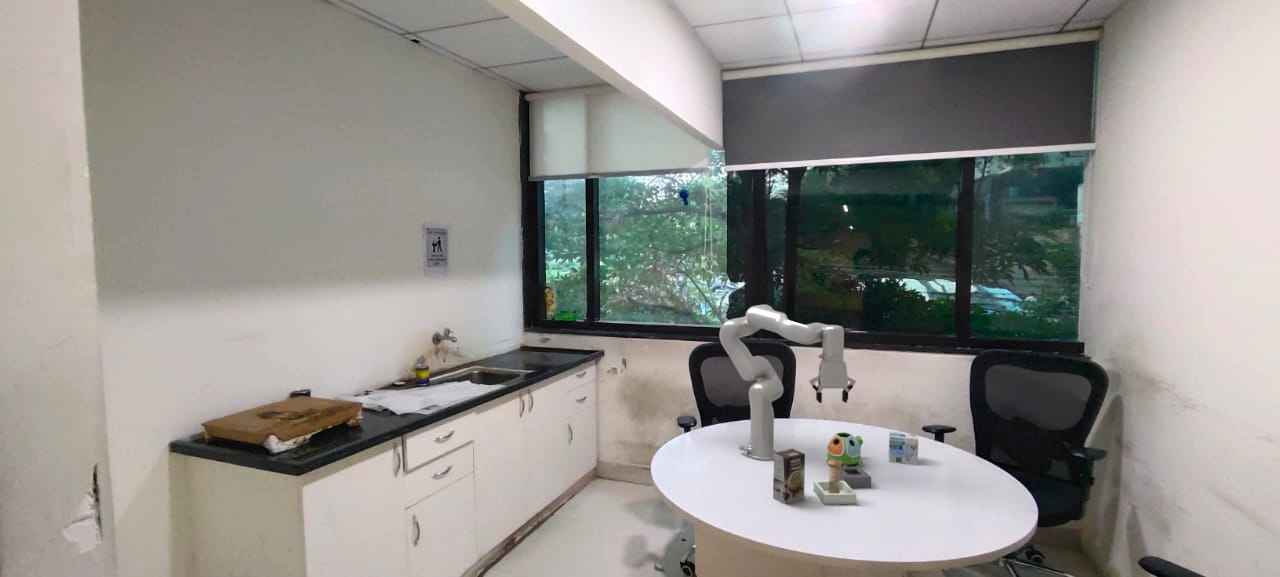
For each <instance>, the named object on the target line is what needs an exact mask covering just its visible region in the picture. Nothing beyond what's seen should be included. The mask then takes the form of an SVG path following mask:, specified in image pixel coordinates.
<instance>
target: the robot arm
mask: <svg viewBox="0 0 1280 577" xmlns="http://www.w3.org/2000/svg"><path fill="white" fill-rule="evenodd" d="M761 329H763V330H766V331H770V332H773V333H775V334H778V335H779V336H781V337H783V338H784V339H787V340H789V341H792V342H795V343H798V344H801V345H806V346H807V345H813V344H815V343H820V342H822V352H821V354H819V355H818V358H819V359H821V360H820V363H819V366H818V374H817V375H816V376H815V377H813V378H811V379H809V384H810V385H811V388H812V389H814V391H815V394H816V395H815V399H816V401H817V402H818V403H819V404H822V402H823V393H822V391H823V390H824V389H843V390H842V392H841V396H842V397H841V400H842V402H844V403H846V404H847V403H848V400H849V393H850V391H851V390H852V389H853V388H854V385H855V384H856V380H855V379H853V378H851V377H849V376H848V367H847V363H846V361H845V360H844V349H845V348H844V347H845V346H844V345H845V344H844V342H845V338H844V337H845V329H844V327H843V326H841V325H837V324H825V323H821V322H812V323H807V324H803V323H799V322H795V321H793V320H790V319H788V315H787V314H786V313H785V312H782V311H777V310H774V308H773V307H772V306H770V305H768V304H759V305H758V304H757V305H753V306H750V307H749V308H748V309H747V311H746V312H745V316H742V317H736V318H731V319H729V320H726V321H725V322H724V323H722V325H721V327H720V329H719V341H720V343H721V345H722V347H723V349H724V350H725V352H726V353H727V355H728V357H729V358H730V360H731V362H732V363H733V365H734V367H735V369H736V371H737V372H738V374H739V376H740V377H741V378H742V380H744V381H747V382H751V381H755V380H757V381H756V382H754V383H753V384H752V385H751V386H750V388H749V390H748V399H749V400H748V401H749V406H750V441H749V442H748V443H747V444H746V445H745V444H739V446H738V447H739V448H738V450H740V451H741V450H742V451H743V452H746V455H747V456H748V458H751V459H753V460H757V461H758V460H759V461H771V460H774V453H775V452H777V450H775V449H774V446H775V444H774V440H775V438H774V437H775V436H774V435H775V433H774V432H775V419H774V418H775V413H774V407H773V405H772V404H773V403H772V402H773V401H775V400H778V399H779V398H781V397H782V396H783V393H784V386H783V383H782V381H781V379H780V377H779V376H778V374H777V372H776V370H775V369H774V368H773V366H772V365H771V362H770V361H769V360H768V359H767V358H765V357H763V356H762V355H761V356H760V355H755V356H753V355H752V353H751V352H750V350H749V348H748V347H747V345H745V343H743V342H742V340H740V338H744V337H747V336H751V335H753V334H755V333H756V332H758V331H760V330H761ZM848 381H849V382H848ZM816 382H817V384H818V385H816Z"/></svg>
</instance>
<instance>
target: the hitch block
mask: <svg viewBox="0 0 1280 577" xmlns="http://www.w3.org/2000/svg"><path fill="white" fill-rule="evenodd" d="M840 481H845V482H846V483H847V484H848V486H849V487H850V488H851V489H872V476H871V475H869V474H868V472H867V471H865V470H864V468H862V467H861V465H860V466H857V465H855V466H854V465H853V466H847V467H842V466H841V467H840Z"/></svg>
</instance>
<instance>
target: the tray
mask: <svg viewBox="0 0 1280 577" xmlns="http://www.w3.org/2000/svg"><path fill="white" fill-rule="evenodd" d="M813 492H814V493H815V495H816V494H817V495H816V496H817V497H818V499H819V498H820V499H819V500H820V501H821V503H822V502H823V503H822V504H823V505H824V506H826V504H848V505H857V498H858V497H857V493H856V492H855V491H854V490H853V488H850V487H849V486H848V484H847V483H846V482H845V481H840V493H829V480H814V481H813Z"/></svg>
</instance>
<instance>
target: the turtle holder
mask: <svg viewBox="0 0 1280 577" xmlns="http://www.w3.org/2000/svg"><path fill="white" fill-rule="evenodd" d="M863 444H864V440H863V439H862V437H861V436H860V435H857V436H854V434H852V433H850V432H844V431H840V432H836V433H835V434H834V435H833V436H832V437H831V438H829V441H828V443H827V446H826V450H827V453H826V457H827V459H826V462H827V463H828V461H829V460H838V461H840V462H841V467H849V465H855V466H860V467H861V459H862V458H861V455H862V454H861V453H862V450H861V448H862V445H863Z"/></svg>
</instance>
